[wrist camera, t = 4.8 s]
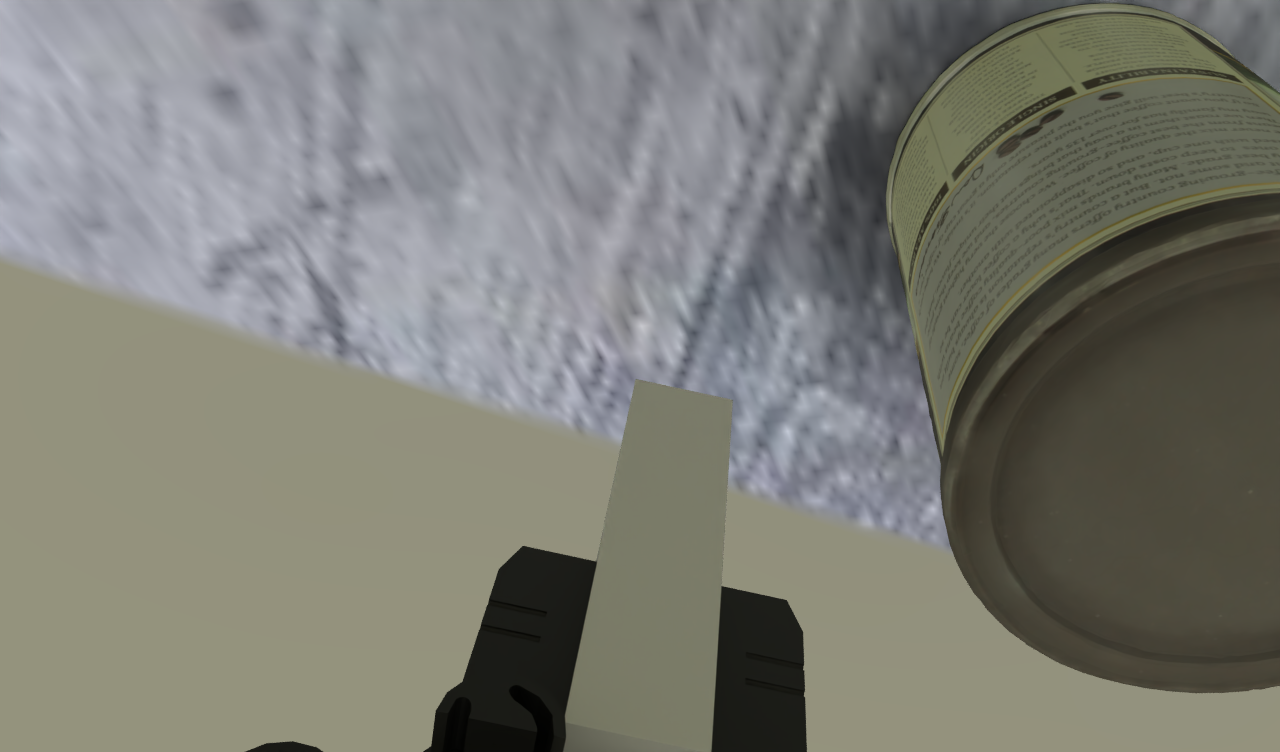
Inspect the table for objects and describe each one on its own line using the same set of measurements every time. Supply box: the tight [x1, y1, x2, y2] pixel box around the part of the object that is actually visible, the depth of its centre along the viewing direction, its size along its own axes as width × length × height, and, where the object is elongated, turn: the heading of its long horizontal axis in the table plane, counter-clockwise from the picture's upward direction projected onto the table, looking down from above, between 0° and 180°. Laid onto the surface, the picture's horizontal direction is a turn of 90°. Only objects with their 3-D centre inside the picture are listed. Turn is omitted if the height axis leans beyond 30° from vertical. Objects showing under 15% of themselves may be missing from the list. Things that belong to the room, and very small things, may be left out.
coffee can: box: [886, 3, 1280, 693], centre depth 25 cm, size 10×10×14 cm
